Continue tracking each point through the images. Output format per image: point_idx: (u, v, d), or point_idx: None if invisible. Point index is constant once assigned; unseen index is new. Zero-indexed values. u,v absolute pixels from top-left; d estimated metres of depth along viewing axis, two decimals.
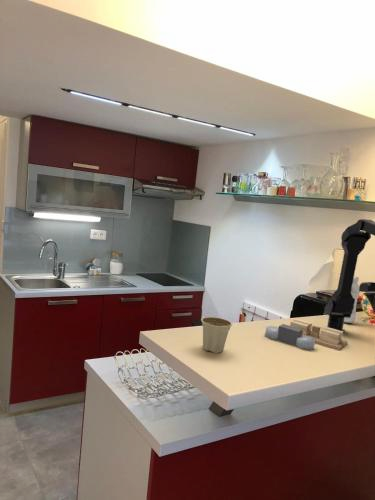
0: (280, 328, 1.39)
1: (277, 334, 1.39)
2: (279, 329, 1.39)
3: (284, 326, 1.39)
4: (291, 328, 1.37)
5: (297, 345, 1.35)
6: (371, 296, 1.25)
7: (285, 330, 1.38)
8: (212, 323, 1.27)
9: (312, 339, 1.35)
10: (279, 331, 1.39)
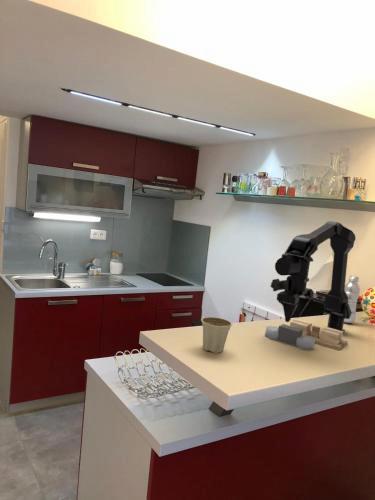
0: (280, 328, 1.39)
1: (277, 334, 1.39)
2: (279, 329, 1.39)
3: (284, 326, 1.39)
4: (291, 328, 1.37)
5: (297, 345, 1.35)
6: None
7: (285, 330, 1.38)
8: (212, 323, 1.27)
9: (312, 339, 1.35)
10: (279, 331, 1.39)
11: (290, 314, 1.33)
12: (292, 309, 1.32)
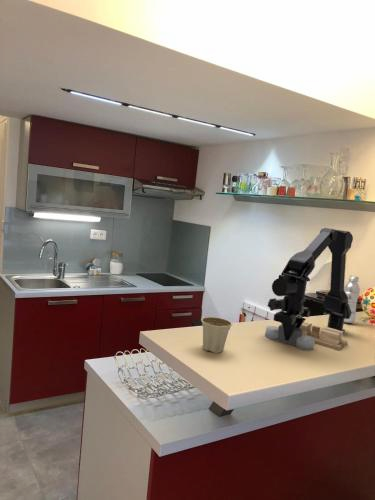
0: (280, 328, 1.39)
1: (277, 334, 1.39)
2: (279, 329, 1.39)
3: None
4: None
5: (297, 345, 1.35)
6: None
7: None
8: (212, 323, 1.27)
9: (312, 339, 1.35)
10: (279, 331, 1.39)
11: (289, 333, 1.35)
12: (291, 328, 1.34)
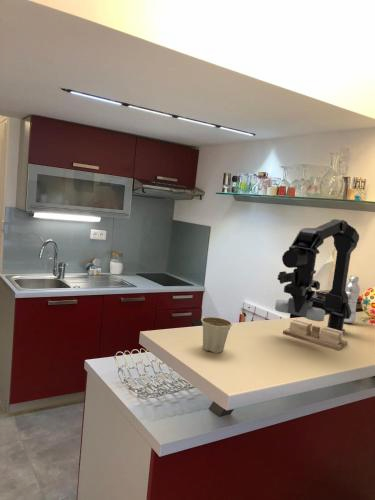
0: (290, 300, 1.39)
1: (287, 307, 1.40)
2: (289, 301, 1.39)
3: None
4: None
5: (307, 317, 1.35)
6: None
7: None
8: (212, 323, 1.27)
9: (322, 310, 1.36)
10: (289, 303, 1.39)
11: (300, 305, 1.36)
12: (302, 300, 1.35)
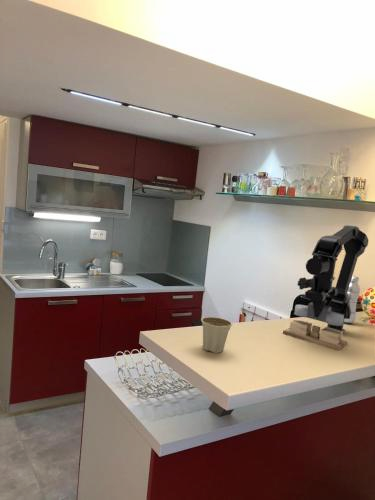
0: (310, 305, 1.45)
1: (307, 311, 1.45)
2: (309, 306, 1.45)
3: None
4: None
5: (327, 321, 1.41)
6: None
7: None
8: (212, 323, 1.27)
9: (341, 315, 1.41)
10: (309, 308, 1.45)
11: (319, 310, 1.42)
12: (321, 305, 1.41)
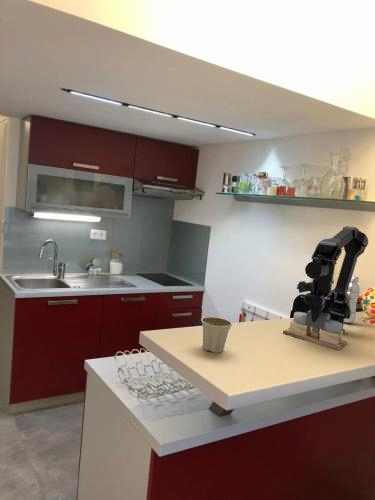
0: (308, 313, 1.45)
1: (305, 319, 1.46)
2: (307, 314, 1.45)
3: None
4: None
5: (325, 329, 1.41)
6: None
7: None
8: (212, 323, 1.27)
9: (340, 323, 1.42)
10: (307, 316, 1.45)
11: (317, 314, 1.40)
12: (319, 310, 1.39)
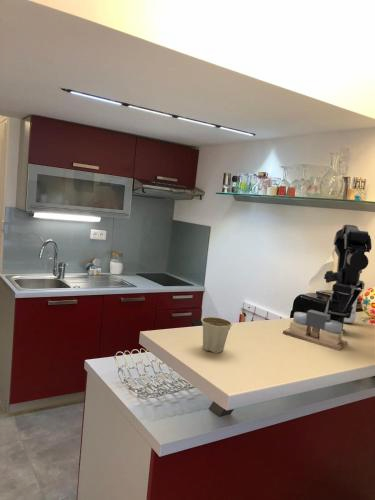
0: (308, 313, 1.45)
1: (305, 319, 1.46)
2: (307, 314, 1.45)
3: (312, 311, 1.46)
4: (319, 313, 1.44)
5: (325, 329, 1.41)
6: None
7: (313, 315, 1.44)
8: (212, 323, 1.27)
9: (340, 323, 1.42)
10: (307, 316, 1.45)
11: (345, 304, 1.38)
12: (347, 299, 1.37)
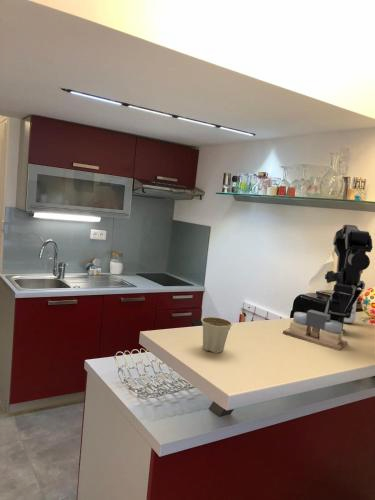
0: (308, 313, 1.45)
1: (305, 319, 1.46)
2: (307, 314, 1.45)
3: (312, 311, 1.46)
4: (319, 313, 1.44)
5: (325, 329, 1.41)
6: None
7: (313, 315, 1.44)
8: (212, 323, 1.27)
9: (340, 323, 1.42)
10: (307, 316, 1.45)
11: (346, 304, 1.38)
12: (348, 299, 1.37)
